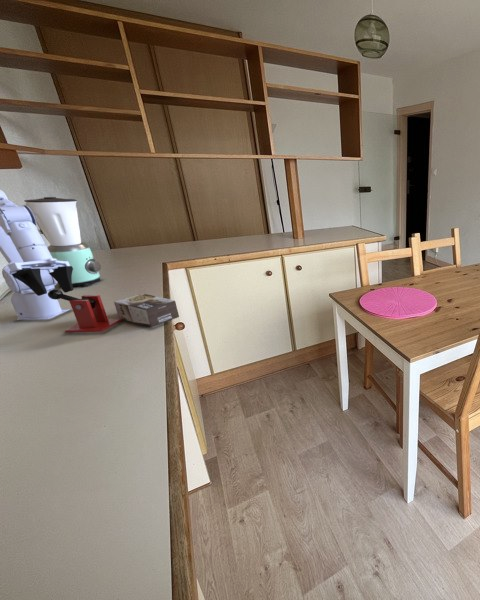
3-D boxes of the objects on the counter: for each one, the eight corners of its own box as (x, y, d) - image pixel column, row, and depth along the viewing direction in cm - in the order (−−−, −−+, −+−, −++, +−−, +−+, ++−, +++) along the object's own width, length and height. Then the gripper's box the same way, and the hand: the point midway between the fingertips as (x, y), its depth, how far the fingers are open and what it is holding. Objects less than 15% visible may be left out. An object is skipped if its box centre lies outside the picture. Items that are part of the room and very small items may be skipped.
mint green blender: (113, 278, 140) (87, 196, 128) (93, 287, 128) (62, 198, 115) (63, 280, 136) (30, 196, 124) (37, 290, 124) (-2, 198, 111)
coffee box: (119, 319, 101) (150, 329, 95) (113, 301, 99) (145, 309, 93) (149, 310, 109) (180, 318, 103) (144, 292, 107) (175, 300, 101)
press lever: (44, 298, 89) (44, 289, 88) (53, 295, 92) (54, 286, 91) (87, 311, 92) (88, 302, 91) (95, 307, 95) (96, 299, 94)
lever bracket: (66, 334, 91) (53, 303, 88) (88, 322, 99) (77, 293, 95) (103, 333, 92) (92, 302, 89) (122, 321, 100) (113, 293, 96)
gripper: (16, 243, 82) (43, 291, 84) (70, 244, 96) (91, 285, 98) (-10, 251, 82) (18, 300, 84) (48, 251, 96) (70, 293, 98)
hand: (56, 292), depth 91 cm, fingers open, 7 cm apart
